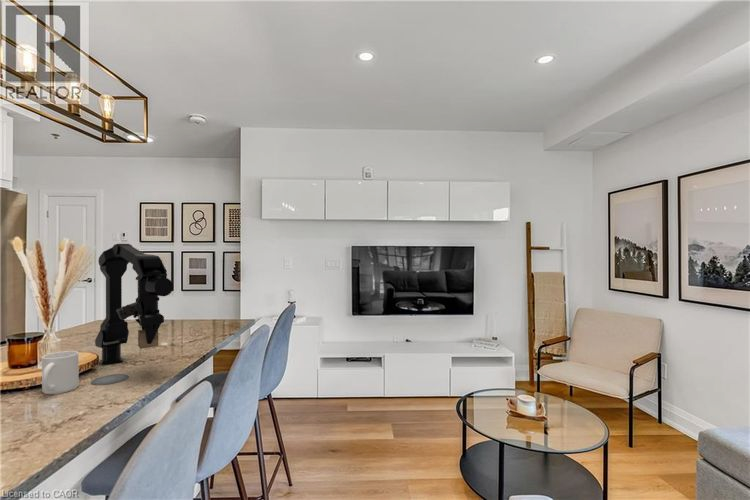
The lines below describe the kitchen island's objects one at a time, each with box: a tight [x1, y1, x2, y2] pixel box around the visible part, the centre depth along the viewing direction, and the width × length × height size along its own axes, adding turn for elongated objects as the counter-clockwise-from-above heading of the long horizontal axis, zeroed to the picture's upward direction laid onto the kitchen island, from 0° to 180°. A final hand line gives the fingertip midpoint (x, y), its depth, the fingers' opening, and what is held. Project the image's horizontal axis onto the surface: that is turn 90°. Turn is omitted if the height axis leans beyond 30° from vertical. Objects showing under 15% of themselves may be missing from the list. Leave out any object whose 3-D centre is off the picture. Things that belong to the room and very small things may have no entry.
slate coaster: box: [90, 373, 130, 386], centre depth 121 cm, size 10×10×1 cm
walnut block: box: [137, 329, 159, 350], centre depth 125 cm, size 5×5×5 cm
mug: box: [41, 350, 80, 395], centre depth 111 cm, size 12×8×10 cm
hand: (148, 342), depth 125 cm, fingers closed on walnut block, 5 cm apart
